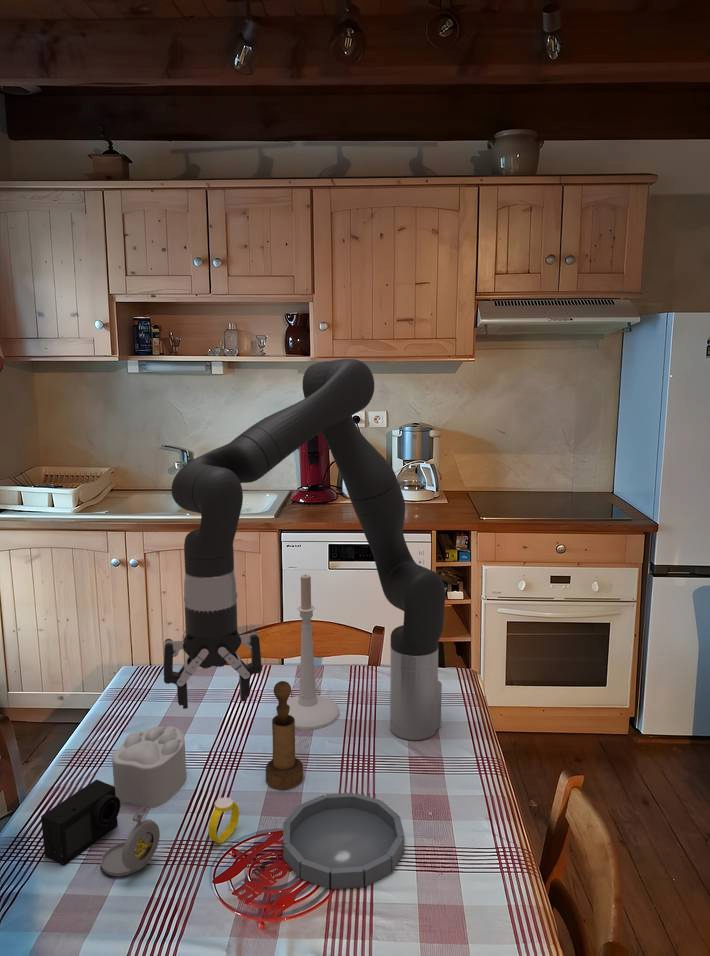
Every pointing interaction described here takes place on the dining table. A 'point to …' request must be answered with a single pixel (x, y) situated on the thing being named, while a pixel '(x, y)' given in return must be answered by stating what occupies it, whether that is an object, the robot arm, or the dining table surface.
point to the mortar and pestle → (283, 744)
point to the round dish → (343, 840)
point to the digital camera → (79, 821)
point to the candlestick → (309, 675)
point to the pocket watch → (132, 848)
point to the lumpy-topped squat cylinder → (150, 766)
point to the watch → (220, 807)
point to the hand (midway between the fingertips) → (214, 702)
